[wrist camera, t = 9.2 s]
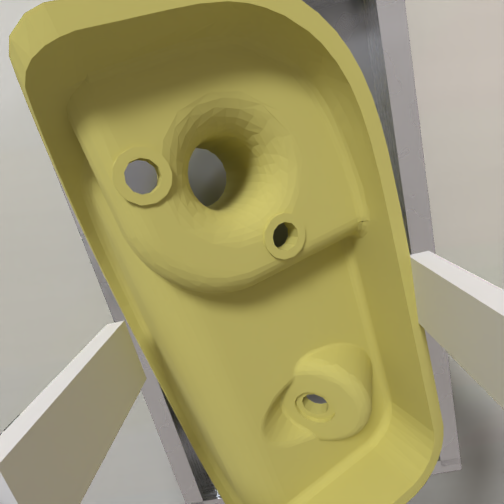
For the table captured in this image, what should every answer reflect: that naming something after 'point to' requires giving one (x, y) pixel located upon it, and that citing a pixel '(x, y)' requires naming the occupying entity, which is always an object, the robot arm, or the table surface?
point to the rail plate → (212, 187)
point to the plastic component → (245, 236)
